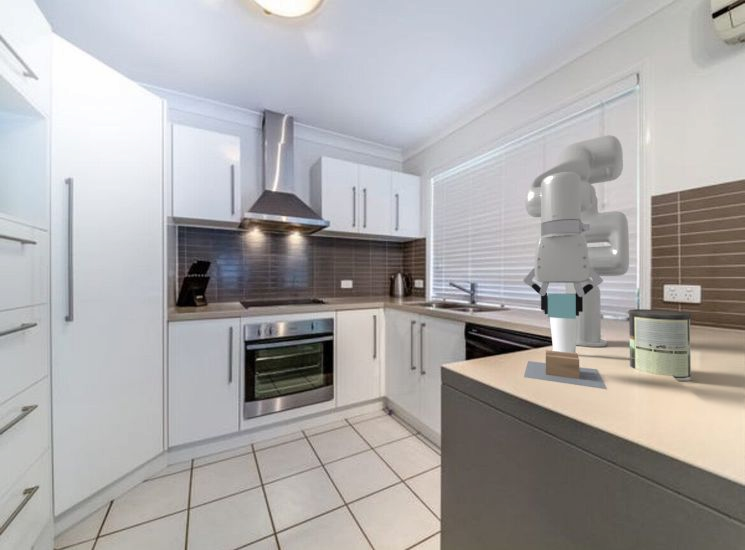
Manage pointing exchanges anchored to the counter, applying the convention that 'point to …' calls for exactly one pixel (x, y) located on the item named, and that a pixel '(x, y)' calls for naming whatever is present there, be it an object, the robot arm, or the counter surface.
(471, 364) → the counter surface
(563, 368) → the walnut base
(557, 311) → the teal block
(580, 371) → the plate
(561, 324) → the white cup
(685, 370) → the coffee can
